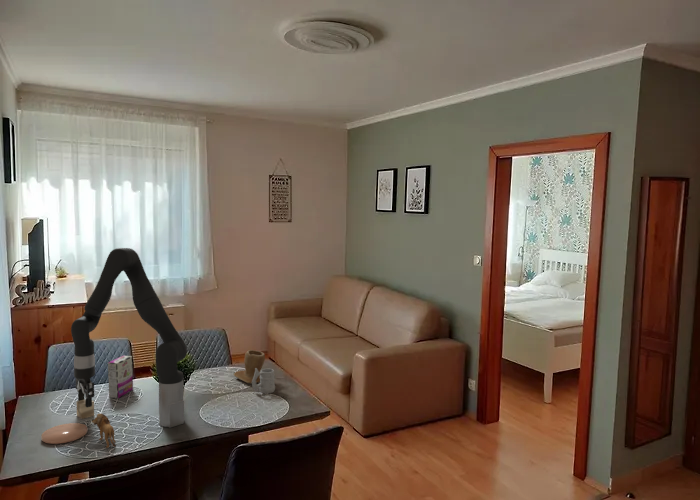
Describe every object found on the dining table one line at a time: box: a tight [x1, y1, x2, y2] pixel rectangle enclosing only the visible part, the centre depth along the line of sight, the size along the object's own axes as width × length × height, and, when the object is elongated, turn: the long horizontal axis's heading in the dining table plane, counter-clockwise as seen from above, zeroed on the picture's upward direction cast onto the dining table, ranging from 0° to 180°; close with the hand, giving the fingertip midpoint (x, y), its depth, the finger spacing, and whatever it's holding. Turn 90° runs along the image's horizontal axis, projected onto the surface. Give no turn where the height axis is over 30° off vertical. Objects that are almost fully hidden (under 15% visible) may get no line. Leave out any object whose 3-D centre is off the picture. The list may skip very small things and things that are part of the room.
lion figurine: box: [91, 413, 117, 449], centre depth 184 cm, size 15×5×9 cm, turn 50°
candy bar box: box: [107, 355, 134, 399], centre depth 229 cm, size 11×5×16 cm, turn 168°
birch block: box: [75, 398, 95, 420], centre depth 206 cm, size 5×5×6 cm
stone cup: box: [233, 349, 266, 384], centre depth 251 cm, size 15×12×15 cm
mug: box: [251, 367, 276, 394], centre depth 236 cm, size 8×12×12 cm, turn 129°
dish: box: [40, 422, 88, 445], centre depth 187 cm, size 15×15×2 cm
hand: (84, 403), depth 206 cm, fingers open, 8 cm apart
